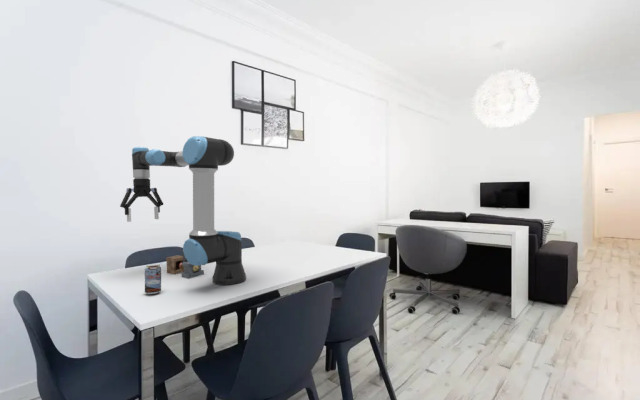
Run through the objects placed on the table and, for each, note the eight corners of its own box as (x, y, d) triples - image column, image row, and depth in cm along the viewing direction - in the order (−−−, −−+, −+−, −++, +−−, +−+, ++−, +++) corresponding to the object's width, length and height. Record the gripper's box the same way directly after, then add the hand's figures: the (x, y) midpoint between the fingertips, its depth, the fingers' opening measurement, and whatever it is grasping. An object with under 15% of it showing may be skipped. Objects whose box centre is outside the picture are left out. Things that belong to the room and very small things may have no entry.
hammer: (199, 270, 163) (199, 251, 163) (193, 272, 160) (193, 252, 160) (184, 268, 170) (183, 249, 169) (178, 269, 167) (177, 250, 166)
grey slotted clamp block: (203, 274, 166) (203, 260, 166) (188, 278, 159) (187, 264, 158) (197, 273, 169) (196, 259, 169) (181, 277, 161) (181, 263, 161)
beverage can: (144, 297, 132) (143, 267, 132) (145, 291, 139) (144, 263, 139) (161, 294, 135) (160, 265, 134) (162, 289, 142) (161, 261, 141)
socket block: (185, 271, 172) (184, 256, 172) (174, 274, 166) (173, 258, 166) (178, 270, 175) (177, 255, 175) (166, 273, 170) (166, 257, 169)
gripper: (162, 178, 179) (163, 218, 180) (111, 178, 159) (113, 222, 160) (169, 178, 175) (170, 218, 175) (118, 177, 155) (120, 223, 155)
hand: (143, 220), depth 168 cm, fingers open, 13 cm apart
